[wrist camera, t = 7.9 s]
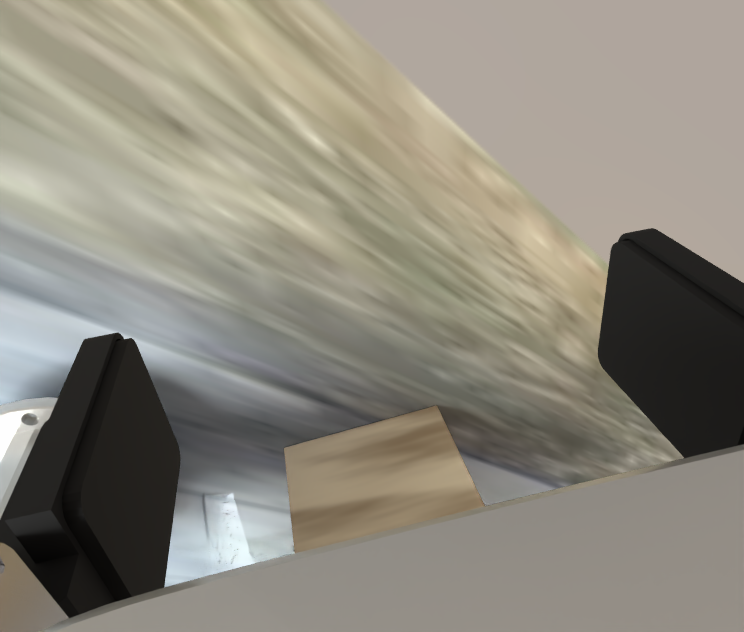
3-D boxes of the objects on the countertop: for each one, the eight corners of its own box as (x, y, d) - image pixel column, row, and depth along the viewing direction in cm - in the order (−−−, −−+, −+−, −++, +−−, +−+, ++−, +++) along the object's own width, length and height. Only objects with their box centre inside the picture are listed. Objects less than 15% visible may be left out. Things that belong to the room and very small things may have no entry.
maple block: (442, 442, 45) (515, 604, 33) (296, 483, 44) (318, 665, 32) (436, 405, 43) (512, 564, 31) (283, 447, 42) (302, 628, 30)
